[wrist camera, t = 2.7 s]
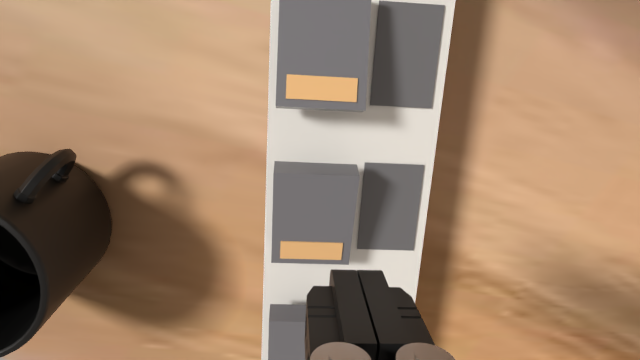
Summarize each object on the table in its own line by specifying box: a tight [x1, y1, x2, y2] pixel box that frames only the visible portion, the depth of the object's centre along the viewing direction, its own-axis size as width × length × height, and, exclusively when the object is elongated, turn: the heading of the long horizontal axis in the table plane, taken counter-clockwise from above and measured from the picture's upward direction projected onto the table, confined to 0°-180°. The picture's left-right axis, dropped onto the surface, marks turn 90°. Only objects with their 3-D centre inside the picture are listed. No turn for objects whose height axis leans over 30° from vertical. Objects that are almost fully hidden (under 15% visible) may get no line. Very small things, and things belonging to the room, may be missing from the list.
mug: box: [0, 149, 111, 357], centre depth 27 cm, size 9×12×9 cm
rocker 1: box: [268, 304, 306, 360], centre depth 29 cm, size 6×5×2 cm
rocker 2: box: [276, 0, 371, 112], centre depth 24 cm, size 6×5×2 cm
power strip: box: [261, 0, 456, 360], centre depth 30 cm, size 30×10×4 cm, turn 177°
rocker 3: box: [271, 161, 360, 265], centre depth 26 cm, size 6×5×2 cm
